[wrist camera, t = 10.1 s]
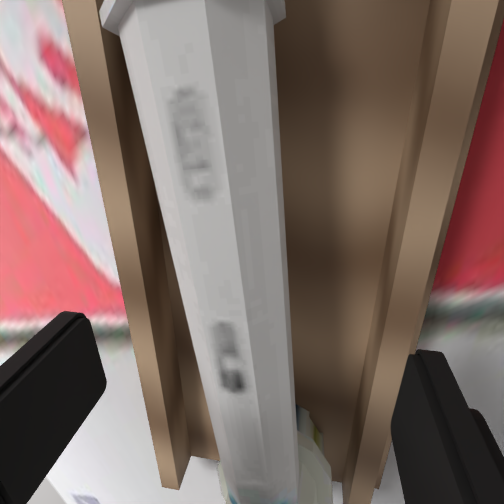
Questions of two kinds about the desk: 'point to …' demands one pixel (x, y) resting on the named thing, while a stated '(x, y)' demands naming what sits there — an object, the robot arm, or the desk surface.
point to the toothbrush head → (226, 227)
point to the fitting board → (310, 211)
